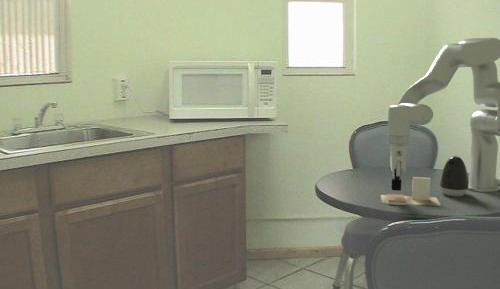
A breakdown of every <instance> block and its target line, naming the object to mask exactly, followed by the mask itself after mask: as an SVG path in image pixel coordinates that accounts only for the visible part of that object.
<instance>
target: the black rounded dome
mask: <svg viewBox="0 0 500 289" xmlns="http://www.w3.org/2000/svg"><path fill="white" fill-rule="evenodd" d="M439 178H440V179H439V184H438V185H439V187H440V190H441V192H442V193H443V195H445V196H448V197H454V198H455V197H457V198H458V197H463V196H464V195H465V194H466V193H467V191H468V190H469V189H468V187H469V174H468V171H467V167H466V164H465V162H464V160H463V159H462V158H461V157H460V156H457V155H453V156H450V157H449V158H448V160H447V161H446V162H445V164H444V166H443V169H442V172H441V174H440V177H439Z"/></svg>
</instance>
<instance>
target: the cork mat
mask: <svg viewBox="0 0 500 289" xmlns="http://www.w3.org/2000/svg"><path fill="white" fill-rule="evenodd" d="M404 197H405V199H406V205H415V206H419V205H420V206H434V207H435V206H437V207H442V205H441V203H440V202H439V200H438V198H437V197H435V196H430V198H429V200H416V199H412V195H404ZM380 200H381V203H382V204H388V202H387V194H380Z"/></svg>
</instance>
